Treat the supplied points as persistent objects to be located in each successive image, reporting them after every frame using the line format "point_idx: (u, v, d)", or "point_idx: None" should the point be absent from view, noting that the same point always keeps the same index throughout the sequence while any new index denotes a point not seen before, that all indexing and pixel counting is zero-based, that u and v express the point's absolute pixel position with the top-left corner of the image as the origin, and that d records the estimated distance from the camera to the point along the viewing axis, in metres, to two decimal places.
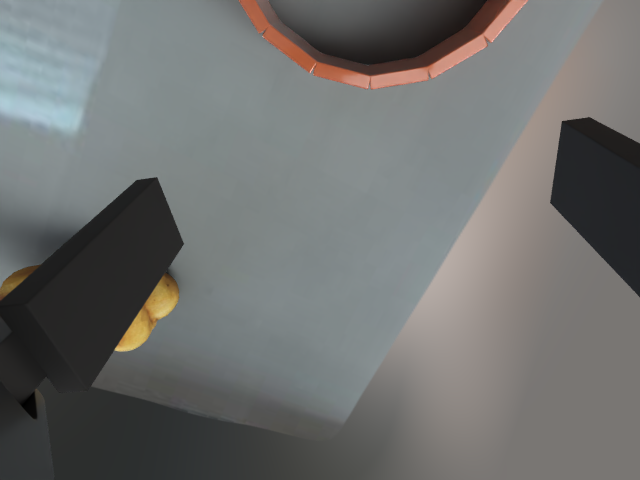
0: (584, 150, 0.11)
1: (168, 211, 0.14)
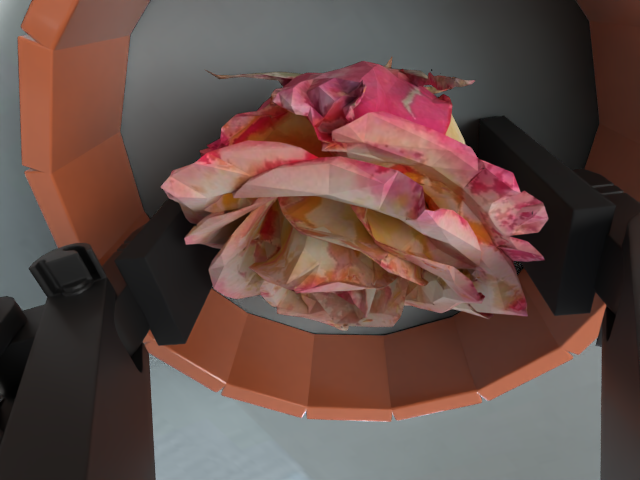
0: (492, 144, 0.12)
1: None
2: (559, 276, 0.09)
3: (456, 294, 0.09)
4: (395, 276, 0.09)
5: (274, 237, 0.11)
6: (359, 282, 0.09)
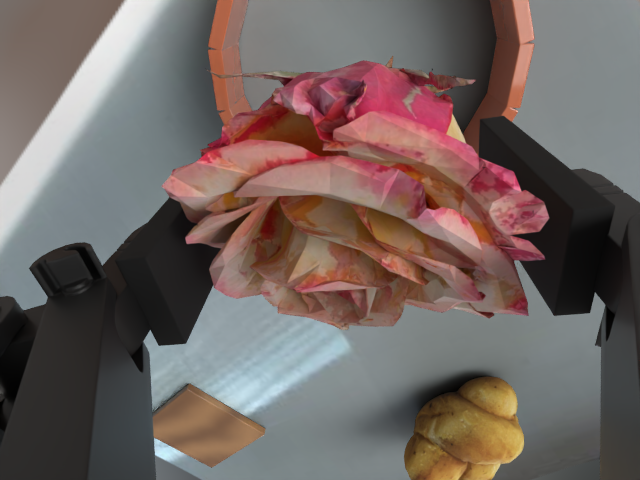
0: (492, 144, 0.12)
1: None
2: (559, 276, 0.09)
3: (457, 293, 0.09)
4: (396, 275, 0.09)
5: (275, 236, 0.11)
6: (360, 281, 0.09)
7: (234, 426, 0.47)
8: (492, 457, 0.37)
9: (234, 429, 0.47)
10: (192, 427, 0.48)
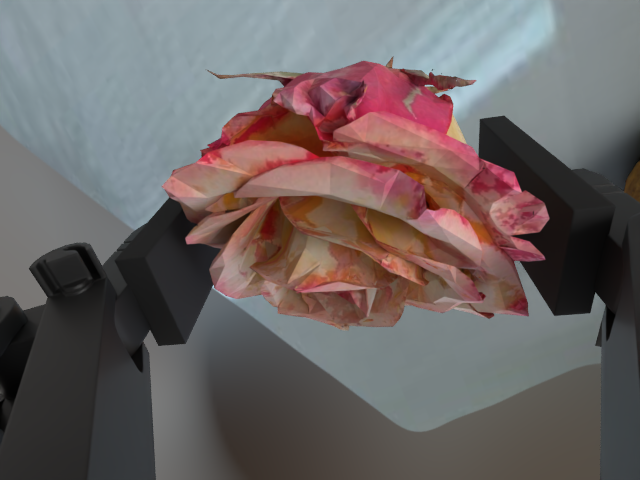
0: (493, 144, 0.12)
1: None
2: (559, 276, 0.09)
3: (457, 294, 0.09)
4: (396, 276, 0.09)
5: (275, 237, 0.11)
6: (360, 282, 0.09)
7: None
8: None
9: None
10: None
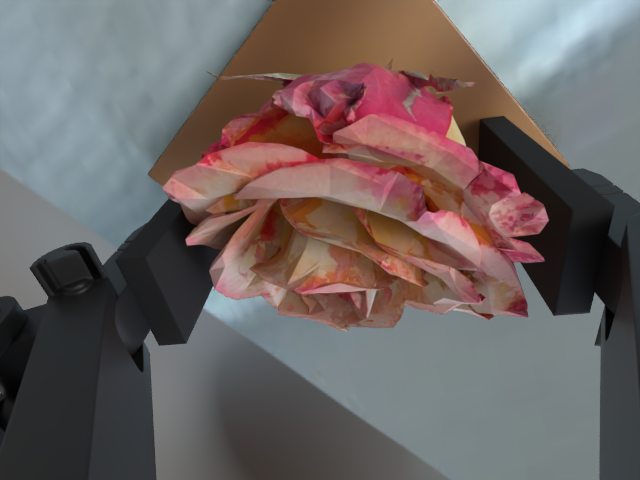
0: (492, 144, 0.12)
1: None
2: (558, 276, 0.09)
3: (457, 295, 0.09)
4: (396, 277, 0.09)
5: (275, 238, 0.11)
6: (360, 283, 0.09)
7: None
8: None
9: (473, 151, 0.14)
10: None
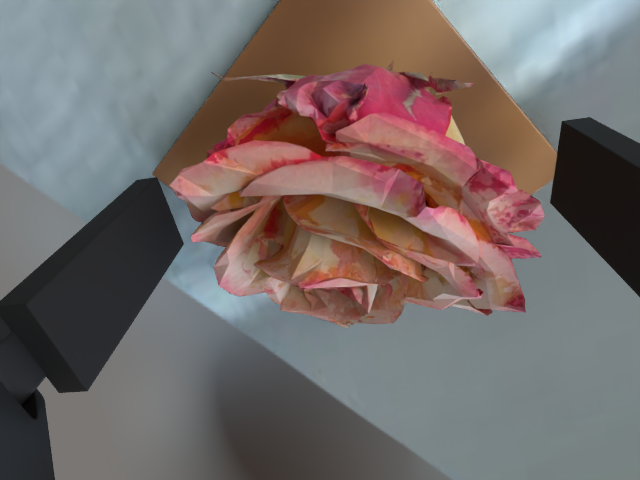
0: (585, 149, 0.11)
1: (168, 211, 0.14)
2: None
3: (456, 290, 0.09)
4: (396, 273, 0.10)
5: (278, 235, 0.12)
6: (361, 278, 0.09)
7: (478, 132, 0.14)
8: None
9: (472, 151, 0.14)
10: None
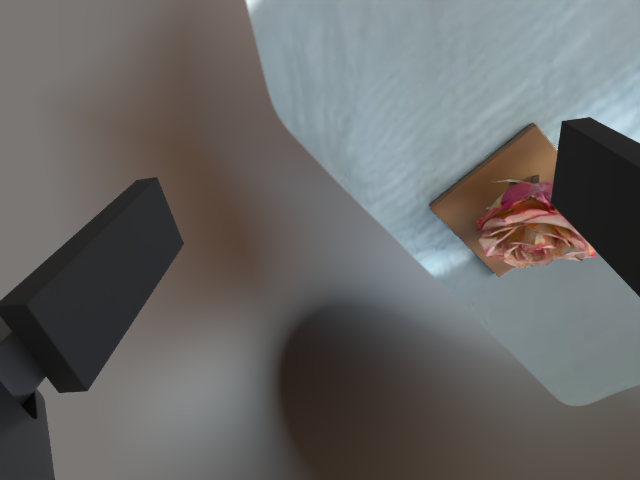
0: (585, 150, 0.11)
1: (168, 211, 0.14)
2: None
3: (578, 250, 0.31)
4: (556, 245, 0.32)
5: None
6: (550, 246, 0.31)
7: None
8: None
9: None
10: None
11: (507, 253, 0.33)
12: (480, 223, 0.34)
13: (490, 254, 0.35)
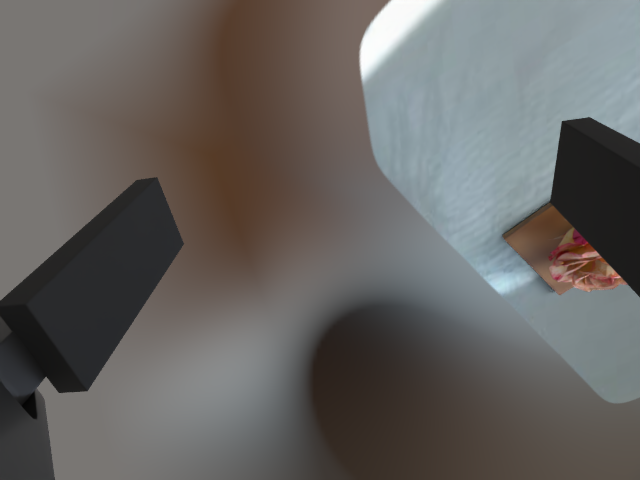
0: (585, 150, 0.11)
1: (168, 211, 0.14)
2: None
3: None
4: None
5: None
6: (618, 276, 0.37)
7: None
8: None
9: None
10: None
11: (578, 280, 0.39)
12: (554, 254, 0.40)
13: (561, 280, 0.41)
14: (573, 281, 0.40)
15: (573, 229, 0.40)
